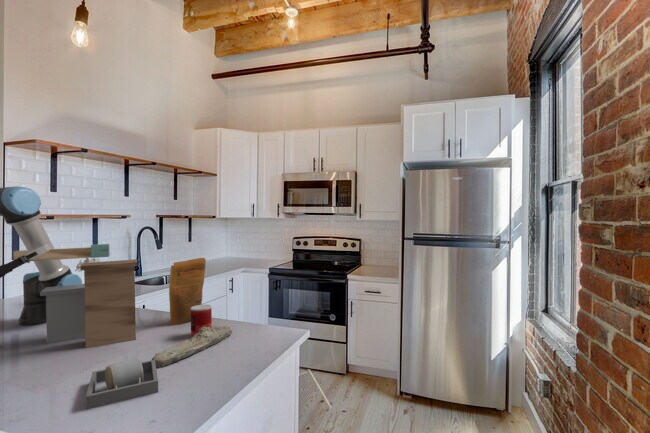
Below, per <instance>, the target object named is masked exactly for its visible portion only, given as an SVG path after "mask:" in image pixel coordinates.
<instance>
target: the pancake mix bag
mask: <svg viewBox="0 0 650 433" xmlns="http://www.w3.org/2000/svg"><path fill="white" fill-rule="evenodd" d="M206 262H207V260H206V258H205V257H198V258H193V259H188V260H182V261H176V262H173V263H172V264H173V265H171V266H170V271H169V275H170V276H169V280H168V281H169V282H168V295H169V296H168V298H169V299H168V300H169V315H170V322H169V326H180V325H183V324H186V323H187V324H188V323H191V307H193V306H197V305H203V304H202V303H203V289H204V288H203V287H204V282H205V272H206Z"/></svg>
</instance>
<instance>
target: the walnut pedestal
mask: <svg viewBox="0 0 650 433" xmlns="http://www.w3.org/2000/svg"><path fill="white" fill-rule="evenodd" d="M135 267H138V259H136V258H135V259H134V258H133V259H124V260H123V259H122V260H120V259H119V260H107V261H106V260H105V261H99V262H90V263H84V264H82V265H81V266H80V268H79V269H81V270H82V271H83V270H84V271H83V275H84V279H83V280H84V283H83V284H85V334H86V338H85V348H86V349H89V348H94V347H99V346H101V347H102V346H105V345H111V344H118V343H124V342H130V341H135V340H137V335H136V334H137V331H136V329H137V327H136V325H137V324H136V321H137V320H136V285H135V284H136V279H135V278H136V275H135V269H136V268H135Z"/></svg>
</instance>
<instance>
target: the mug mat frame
mask: <svg viewBox="0 0 650 433" xmlns="http://www.w3.org/2000/svg"><path fill="white" fill-rule="evenodd" d="M141 363H142V367H143V374H144V373H149V372H150V373H151V377H152V380H148V381H143V382H142V383H138V384H134V385H129V386H125V387H120V388H116V389H111V390H108V389H106V390H103V391H99V392H96V387H97V384H98V383H102V382H106V381H105V369H106V368H105V369H99V370H95V371H92V373H91V377H90V380H89V384H88V387H87V390H86V395H85V409H86V410H88V409H92V408H96V407H100V406H104V405H108V404H113V403H117V402H120V401H121V402H122V401H126V400H129V399H133V398H138V397H143V396H147V395H151V394H155V393H158V392H159V378H158V372H157V367H156V364H155V360H152V359H150V360H145V361H141Z"/></svg>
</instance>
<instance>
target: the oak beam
mask: <svg viewBox="0 0 650 433" xmlns="http://www.w3.org/2000/svg"><path fill="white" fill-rule="evenodd" d="M48 250H49V251H48V252H46V253H44V254H42V255H40V256H38V257H36V258H34V259H32V260H29V259H28V260H29V261H30V262H34V261H42V260H59V259H60V260H72V259H74V260H75V259H86V258H89V259H93V258H95V259H100V258H109V257H110V255H111V254H110V243H105V244H104V243H100V244H91V245H90V247H71V248H69V247H67V248H55V249H48ZM31 251H33V250H27V249H25V250H23V249H22V250H13V260H15V259H17V258H19V257H21V256H23V255H25V254H27V253H29V252H31ZM25 256H26V255H25Z"/></svg>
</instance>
